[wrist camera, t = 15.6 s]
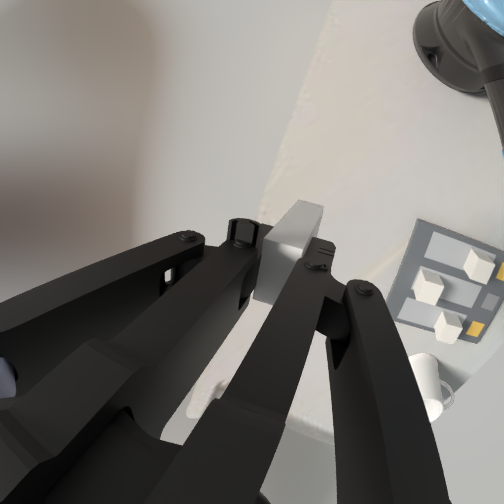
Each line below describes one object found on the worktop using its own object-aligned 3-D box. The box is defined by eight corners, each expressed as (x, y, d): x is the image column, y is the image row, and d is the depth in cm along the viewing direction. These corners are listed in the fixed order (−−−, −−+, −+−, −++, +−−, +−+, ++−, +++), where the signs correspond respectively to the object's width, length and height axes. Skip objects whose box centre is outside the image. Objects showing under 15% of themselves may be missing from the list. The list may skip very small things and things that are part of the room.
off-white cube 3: (442, 310, 43) (446, 323, 39) (457, 315, 42) (462, 328, 39) (433, 326, 44) (437, 340, 41) (449, 330, 44) (453, 344, 40)
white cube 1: (471, 248, 38) (479, 258, 34) (486, 254, 37) (495, 264, 33) (463, 267, 39) (469, 278, 36) (478, 273, 38) (486, 284, 35)
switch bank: (417, 218, 41) (418, 220, 40) (518, 257, 36) (521, 260, 34) (380, 313, 49) (380, 317, 48) (475, 340, 44) (477, 344, 42)
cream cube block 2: (421, 269, 42) (425, 280, 39) (439, 274, 41) (444, 286, 38) (413, 287, 44) (416, 300, 40) (430, 293, 43) (435, 305, 39)
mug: (457, 359, 46) (467, 403, 36) (437, 387, 50) (442, 430, 40) (409, 348, 49) (413, 394, 39) (392, 378, 53) (391, 423, 43)
